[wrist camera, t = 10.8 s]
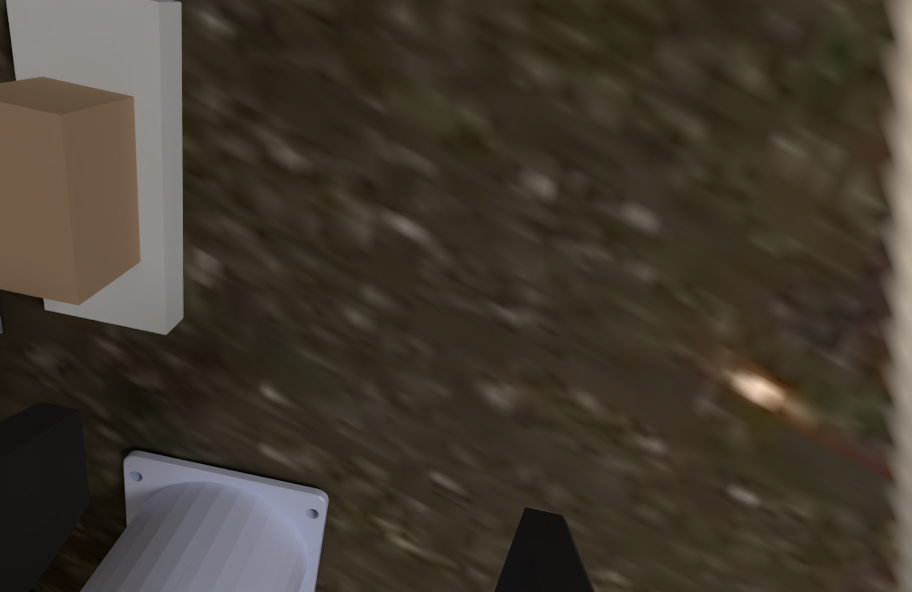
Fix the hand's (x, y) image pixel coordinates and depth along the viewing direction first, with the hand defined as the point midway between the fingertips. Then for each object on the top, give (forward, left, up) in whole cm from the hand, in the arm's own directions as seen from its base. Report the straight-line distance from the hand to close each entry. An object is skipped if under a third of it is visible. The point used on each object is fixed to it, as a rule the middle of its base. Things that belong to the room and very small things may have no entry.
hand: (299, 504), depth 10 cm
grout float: (+1, +9, -11) cm, 14 cm away
